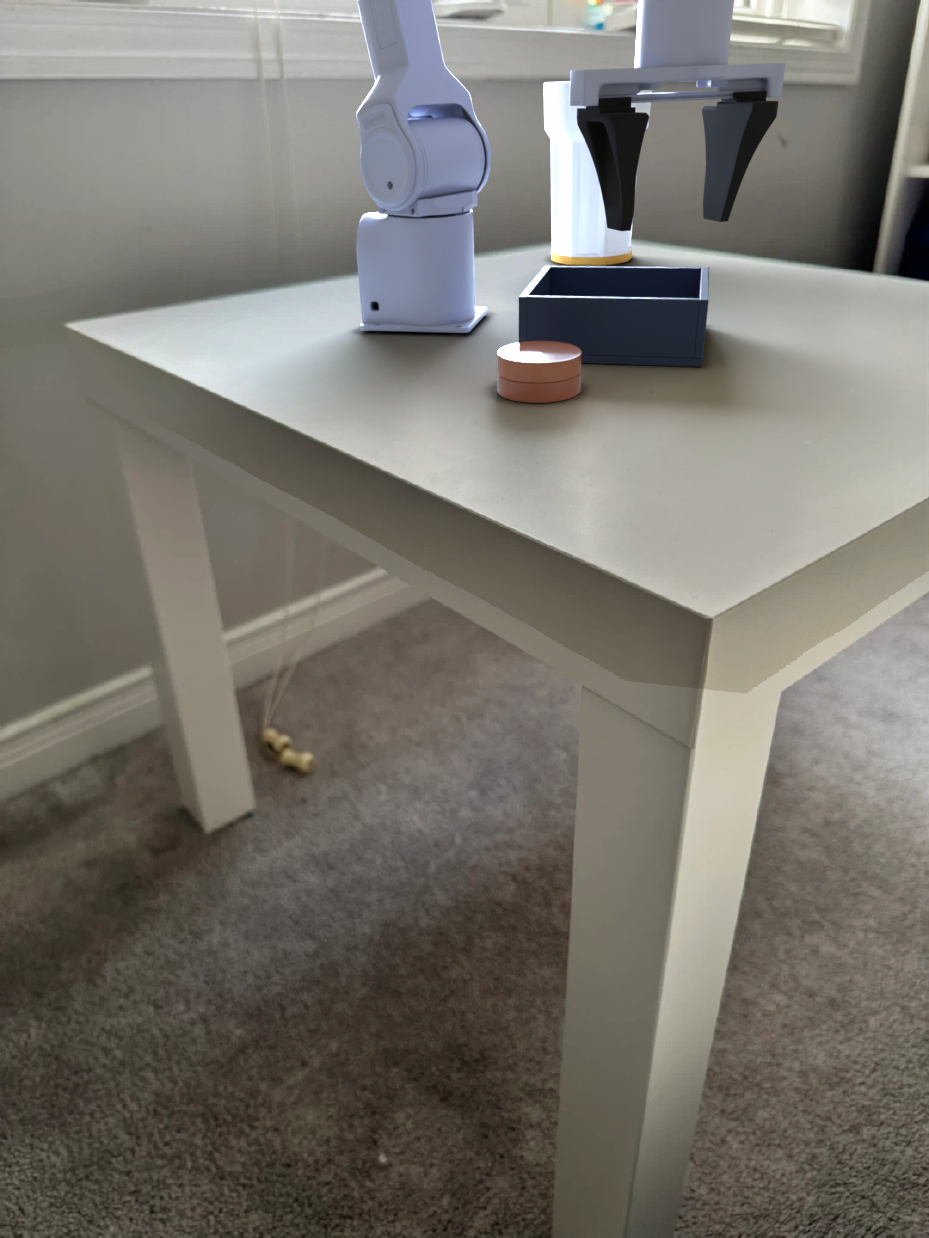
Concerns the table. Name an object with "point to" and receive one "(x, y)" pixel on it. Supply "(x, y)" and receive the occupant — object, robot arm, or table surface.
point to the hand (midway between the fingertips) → (668, 224)
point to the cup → (578, 189)
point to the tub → (620, 313)
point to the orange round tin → (539, 371)
